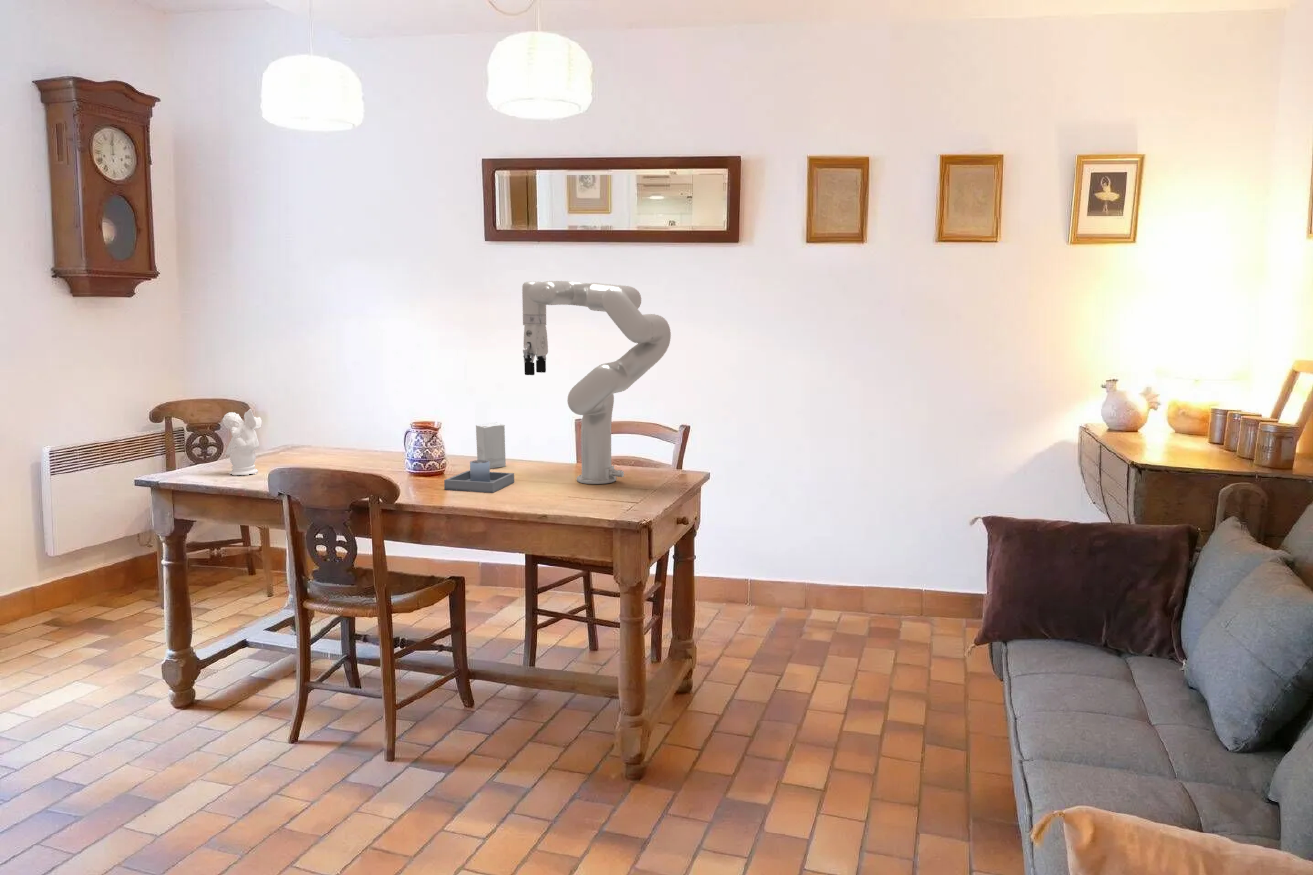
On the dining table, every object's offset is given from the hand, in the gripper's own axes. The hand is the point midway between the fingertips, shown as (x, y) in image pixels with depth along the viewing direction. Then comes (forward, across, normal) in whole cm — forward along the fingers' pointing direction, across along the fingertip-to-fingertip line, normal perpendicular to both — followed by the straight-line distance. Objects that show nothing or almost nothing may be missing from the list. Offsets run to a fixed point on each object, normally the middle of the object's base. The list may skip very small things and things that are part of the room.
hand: (535, 373), depth 314 cm
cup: (+33, -22, +10) cm, 41 cm away
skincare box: (+34, +8, +20) cm, 40 cm away
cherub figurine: (+34, -24, +92) cm, 101 cm away
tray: (+33, -22, +10) cm, 41 cm away
